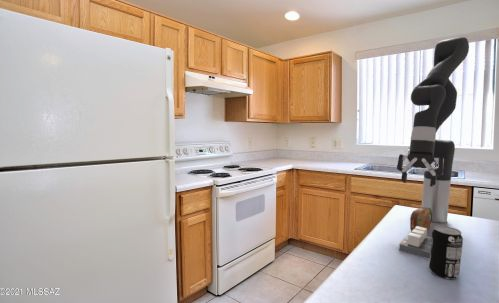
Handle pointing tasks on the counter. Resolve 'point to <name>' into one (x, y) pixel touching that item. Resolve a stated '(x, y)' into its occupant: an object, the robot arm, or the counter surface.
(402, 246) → the switch panel
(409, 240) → the tab
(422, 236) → the tab
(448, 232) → the beverage can
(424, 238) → the tab
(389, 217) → the counter surface
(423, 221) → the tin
